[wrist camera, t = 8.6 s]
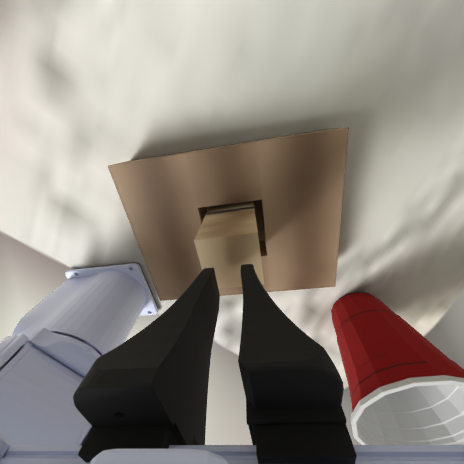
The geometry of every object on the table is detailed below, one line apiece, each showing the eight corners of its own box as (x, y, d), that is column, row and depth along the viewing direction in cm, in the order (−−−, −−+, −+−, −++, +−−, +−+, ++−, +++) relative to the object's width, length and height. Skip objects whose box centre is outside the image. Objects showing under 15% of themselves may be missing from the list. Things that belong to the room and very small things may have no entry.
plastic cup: (363, 256, 22) (476, 371, 12) (418, 305, 25) (552, 436, 14) (291, 310, 26) (325, 433, 16) (344, 348, 29) (406, 476, 18)
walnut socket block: (170, 279, 25) (160, 300, 22) (129, 160, 19) (107, 166, 16) (322, 265, 23) (335, 286, 20) (329, 128, 17) (348, 127, 14)
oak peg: (218, 238, 22) (207, 290, 14) (211, 201, 20) (192, 239, 13) (257, 233, 21) (265, 284, 14) (252, 195, 19) (258, 231, 12)
